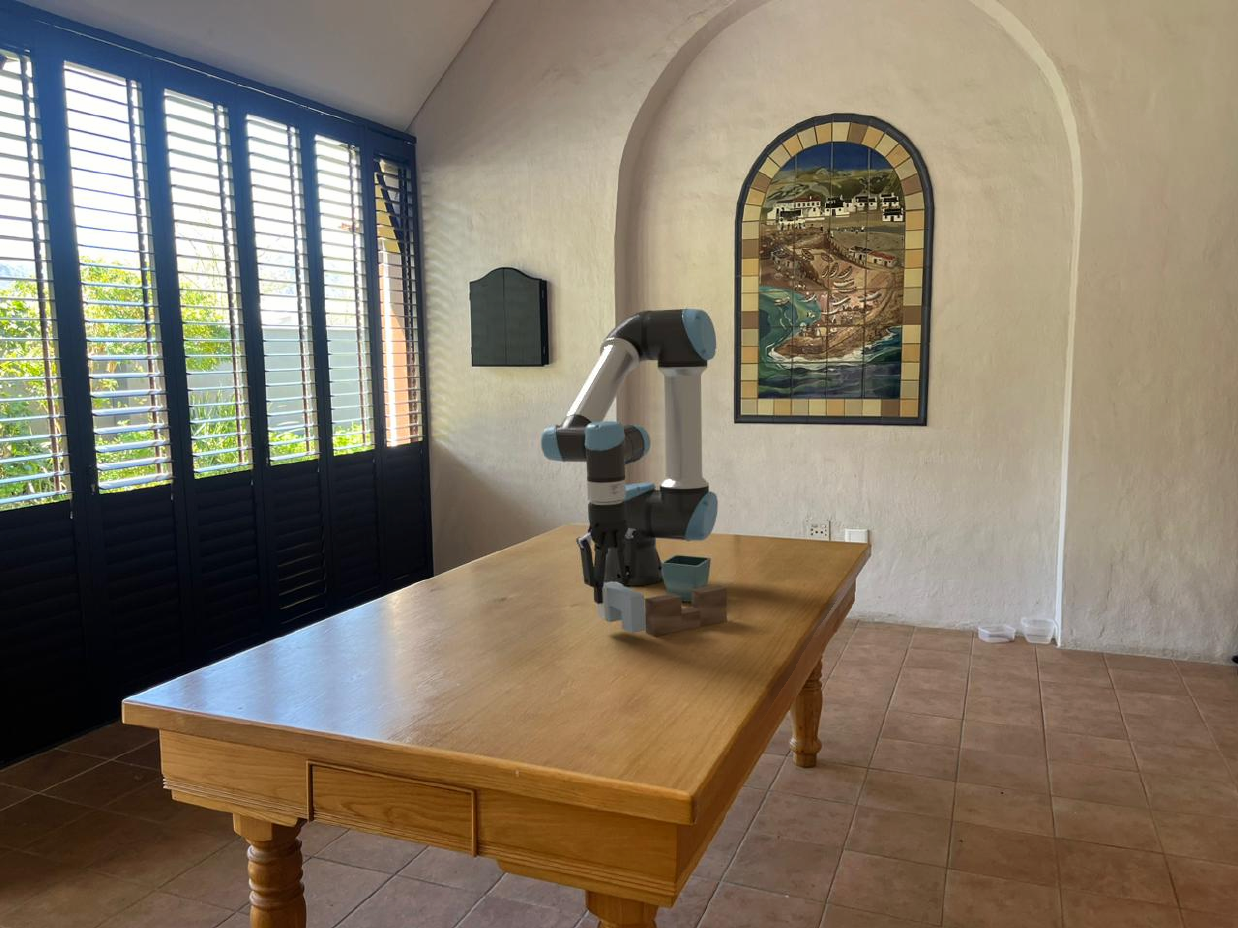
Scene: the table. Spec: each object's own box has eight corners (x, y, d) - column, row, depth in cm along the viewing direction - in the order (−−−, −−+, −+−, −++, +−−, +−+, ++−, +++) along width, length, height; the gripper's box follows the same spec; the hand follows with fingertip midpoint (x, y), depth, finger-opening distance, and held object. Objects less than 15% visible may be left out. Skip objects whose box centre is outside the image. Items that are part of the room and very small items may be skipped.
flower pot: (712, 595, 213) (711, 557, 212) (698, 606, 205) (698, 565, 204) (675, 592, 216) (675, 554, 215) (661, 602, 209) (660, 562, 207)
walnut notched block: (645, 632, 187) (644, 598, 186) (718, 617, 196) (717, 584, 195) (653, 636, 184) (653, 601, 183) (726, 620, 193) (726, 587, 192)
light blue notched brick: (600, 617, 188) (599, 583, 187) (613, 614, 189) (612, 581, 188) (632, 633, 178) (630, 597, 177) (645, 630, 179) (644, 594, 178)
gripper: (580, 509, 176) (585, 629, 180) (651, 498, 184) (655, 613, 188) (561, 503, 183) (566, 619, 186) (631, 493, 191) (635, 604, 194)
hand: (611, 616), depth 187 cm, fingers closed on light blue notched brick, 3 cm apart
